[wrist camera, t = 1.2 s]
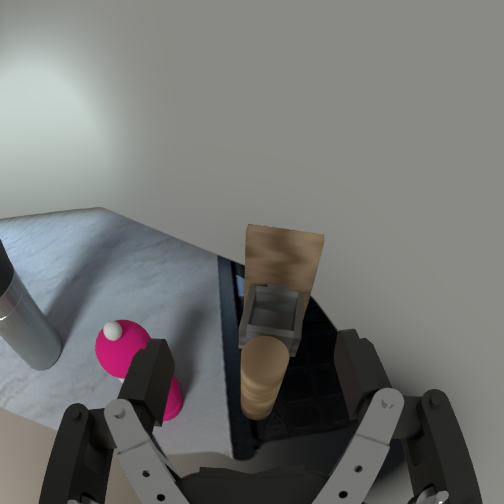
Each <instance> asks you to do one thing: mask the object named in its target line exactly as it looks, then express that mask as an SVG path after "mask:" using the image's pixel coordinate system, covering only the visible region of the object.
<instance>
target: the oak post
mask: <svg viewBox="0 0 504 504" xmlns="http://www.w3.org/2000/svg"><path fill="white" fill-rule="evenodd" d="M288 362H289V352H288V349H287V347H286V346H285V345H284V344H283V343H282V342H281V341H280V340H278V339H276V338H274V337H270V336H258V337H255V338H253V339H251V340H249V341H248V342H247V343H246V344H245V345H244V347H243V349H242V352H241V410H242V412H243V414H244V415H245V416H246V417H247V418H249V419H251V420H262V419H264V418H266V417H268V416H269V414H270V413H271V411H272V408H273V405H274V403H275V400H276V397H277V394H278V391H279V389H280V386H281V383H282V380H283V377H284V374H285V371H286V368H287V365H288Z"/></svg>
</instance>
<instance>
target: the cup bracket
mask: <svg viewBox="0 0 504 504" xmlns="http://www.w3.org/2000/svg"><path fill="white" fill-rule="evenodd" d="M323 244H324V235H323V234H316V233H309V232H303V231H296V230H289V229H281V228H275V227H268V226H260V225H252V224H248V227H247V229H246V249H245V251H246V252H245V290H244V311H243V315H242V318H241V322H240V326H239V348H240V349H243V347H244V345H245V344H246V343H247V342H248V341H249V340H251V339H253V338H255V337H258V336H270V337H274V338H276V339H278V340H280V341H281V342H282V343H283V344H284V345H285V346H286V347H287V349H288V352H289V356H290V357H295V355H296V352H297V349H298V346H299V343H300V340H301V333H302V322H303V318H304V315H305V311H306V308H307V304H308V301H309V297H310V294H311V290H312V286H313V283H314V279H315V275H316V272H317V268H318V264H319V260H320V256H321V253H322V249H323Z"/></svg>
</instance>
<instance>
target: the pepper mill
mask: <svg viewBox="0 0 504 504" xmlns="http://www.w3.org/2000/svg"><path fill="white" fill-rule="evenodd" d="M149 339H151V337H150V336H149V334H148V333H147V332H146V330H145V329H144V328H143V327H141V326H140V325H139V324H137V323H135V322H132V321H129V320H117V321H109V322H107V323H106V324H105V325H104V328H103V329H102V330H101V331H100V333H99V334H98V337H97V339H96V345H95V350H96V355H97V359H98V360H99V362H100V364H101V366H102V367H103V368H104V369H105V370H106V371H107V372H108V373H109V374H111V375H112V376H114V377H117V378H118V379H119V380H120V381H121V382H122V383H123V382H124V379H125V376H126V374H127V373H128V369H129V366H130V363H131V361H132V358H133V356H134V355H135V354H136V353H137V352H138V350H139V349H145V348H146V345H147V342H148V340H149ZM182 405H183V399H182V396H181V389H180V385H179V383H178V381H177V379H176V378H175V377H174V375H173V378H172V382H171V387H170V391H169V395H168V400H167V404H166V409H165V413H164V418H163V421H167V420H171V419H173V418H174V417H176V416H177V415H178V414H179V412H180V411H181V409H182Z"/></svg>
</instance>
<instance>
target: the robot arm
mask: <svg viewBox="0 0 504 504" xmlns="http://www.w3.org/2000/svg"><path fill="white" fill-rule="evenodd" d="M0 335H1V336H2V337H3V339H4V340H5V341H6V342H7V343H8V344H9V345H10V346H11V347H12V348H13V349H14V350H15V352H16V353H17V354H18V355H19V356H20V357H21V358H22V359H23V360H24V361H25V362H26V363H27V364H28V365H29V366H31V367H32V368H33V369H35V370H45V369H47V368H49V367H51V366H52V365H53V364H54V363H55V362H56V361H57V359H58V357H59V355H60V353H61V349H62V342H61V338H60V336H59V335H58V333H57V332H56V331H55V329H54V328H53V327H52V325H51V324H50V323H49V321H48V320H47V318H46V317H45V316H44V314H43V313H42V311H41V310H40V309H39V307H38V306H37V304H36V303H35V301H34V300H33V298H32V297H31V295H30V294H29V292H28V291H27V289H26V287H25V286H24V284H23V283H22V281H21V279H20V278H19V276H18V274H17V273H16V271H15V269H14V267H13V265H12V264H11V262H10V260H9V258H8V256H7V253H6V251H5V248H4V246H3V244H2V242H1V240H0ZM334 363H335V367H336V370H337V374H338V377H339V381H340V384H341V388H342V391H343V395H344V398H345V402H346V406H347V409H348V413H349V417H350V420H353V419H358V422H359V426H358V428H357V429H356V431H355V433H354V435H353V437H352V439H351V441H350V442H349V444H348V446H347V448H346V449H345V451H344V453H343V455H342V456H341V458H340V460H339V461H338V463H337V464H336V466H335V467H334V469H333V471H332V472H331V474H330V475H329V476H327V475H325V474H323V473H321V472H318V471H314V470H308V469H305V465H304V464H303V465H296V466H285V467H277V468H273V469H270V470H266V471H263V472H259V473H255V474H248V473H243V472H239V471H234V470H230V469H226V468H206V467H200V472H197V473H193V474H189V475H187V476H185V477H182V476H181V475H180V473H179V472H178V471H177V469H176V468H175V467H174V466H173V464H172V463H171V462H170V460H169V459H168V457H167V456H166V454H165V452H164V451H163V449H162V448H161V446H160V444H159V443H158V441H157V439H156V438H155V436H154V434H153V433H152V432H153V427H154V426H159V427H162V423H163V418H164V413H165V409H166V404H167V400H168V395H169V391H170V387H171V382H172V378H173V374H174V360H173V357H172V355H171V352H170V349H169V347H168V344H167V341H166V340H165V339H149V340H148V342H147V345H146V348H145V349H139V350H138V352H137V353H136V354H135V355H134V356H133V358H132V361H131V363H130V366H129V369H128V373H127V374H126V376H125V379H124V382H123V385H122V387H121V390H120V393H119V396H118V398H117V399H115V400H113V401H111V402H110V403H108V404H107V406H106V407H105V408H101V409H92V410H88V409H87V408H86V407H85V406H84V405H83V404H80V403H75V404H72V405H70V406H69V407H68V408H67V409H66V410H65V413H64V415H63V418H62V421H61V424H60V427H59V430H58V432H57V436H56V439H55V442H54V445H53V448H52V452H51V455H50V458H49V462H48V466H47V470H46V474H45V477H44V482H43V485H42V490H41V495H40V499H39V504H104V503H105V496H106V490H107V484H108V477H109V472H110V466H111V461H112V456H113V451H114V448H118V450H119V453H118V458H119V461H120V463H121V465H122V467H123V469H124V471H125V473H126V475H127V477H128V479H129V481H130V483H131V484H132V486H133V488H134V490H135V492H136V493H137V495H138V496H139V498H140V500H141V502H142V504H366V503H365V502H363V500H364V498H365V496H366V494H367V493H368V491H369V489H370V487H371V485H372V483H373V482H374V480H375V478H376V476H377V474H378V472H379V470H380V468H381V466H382V464H383V462H384V459H385V457H386V455H387V453H388V450H389V447H390V446H389V442H390V440H391V438H401V441H402V445H403V449H404V453H405V457H406V461H407V465H408V470H409V474H410V479H411V484H412V489H413V494H414V497H412V498H411V499H410V500H409V502H408V503H407V504H482V499H481V494H480V490H479V486H478V482H477V478H476V475H475V471H474V468H473V464H472V461H471V458H470V455H469V452H468V449H467V446H466V443H465V440H464V437H463V435H462V432H461V429H460V427H459V424H458V422H457V419H456V416H455V414H454V411H453V409H452V407H451V404H450V402H449V399H448V397H447V396H446V394H445V393H444V392H442V391H440V390H437V389H432V390H429V391H427V392H426V393H424V395H423V396H422V397H412V396H403V395H402V394H401V393H400V392H399V391H397V390H395V389H393V388H392V386H391V384H390V382H389V380H388V377H387V375H386V373H385V370H384V368H383V366H382V363H381V362H380V359H379V357H378V355H377V352H376V350H375V348H374V346H373V344H372V343H371V342H370V341H368V340H367V339H366V338H362V339H359V336H358V334H357V332H356V330H355V329H347V330H340V331H338V335H337V340H336V345H335V350H334Z"/></svg>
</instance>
